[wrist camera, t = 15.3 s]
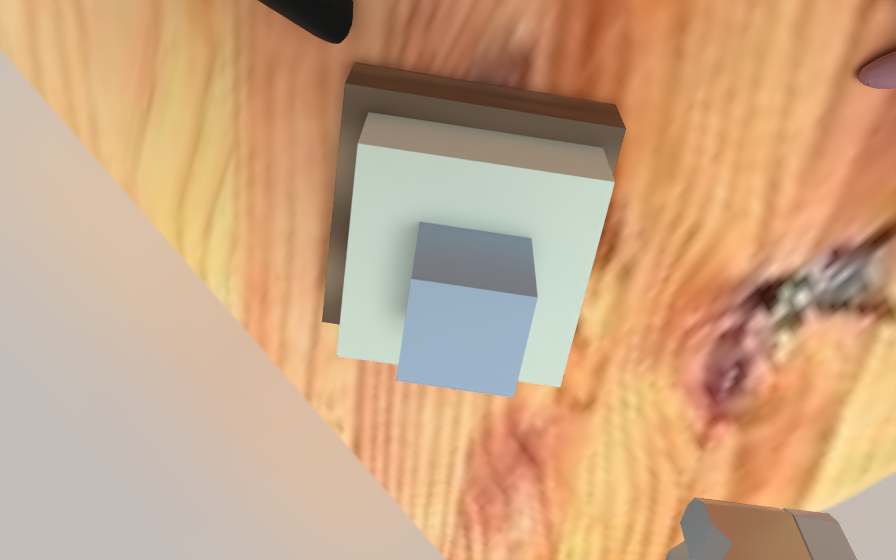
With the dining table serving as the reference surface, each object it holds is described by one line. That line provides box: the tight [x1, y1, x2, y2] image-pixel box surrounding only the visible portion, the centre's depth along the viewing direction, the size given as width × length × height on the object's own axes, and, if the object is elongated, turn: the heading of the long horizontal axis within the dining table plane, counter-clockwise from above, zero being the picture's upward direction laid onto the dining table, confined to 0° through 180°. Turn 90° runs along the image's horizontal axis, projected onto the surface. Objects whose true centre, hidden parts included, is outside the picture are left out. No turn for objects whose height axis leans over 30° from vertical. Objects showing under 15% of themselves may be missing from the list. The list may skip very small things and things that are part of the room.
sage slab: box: [337, 112, 615, 387], centre depth 41 cm, size 11×11×4 cm
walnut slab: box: [322, 63, 626, 324], centre depth 44 cm, size 13×13×4 cm
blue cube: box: [396, 222, 538, 397], centre depth 37 cm, size 5×5×5 cm
